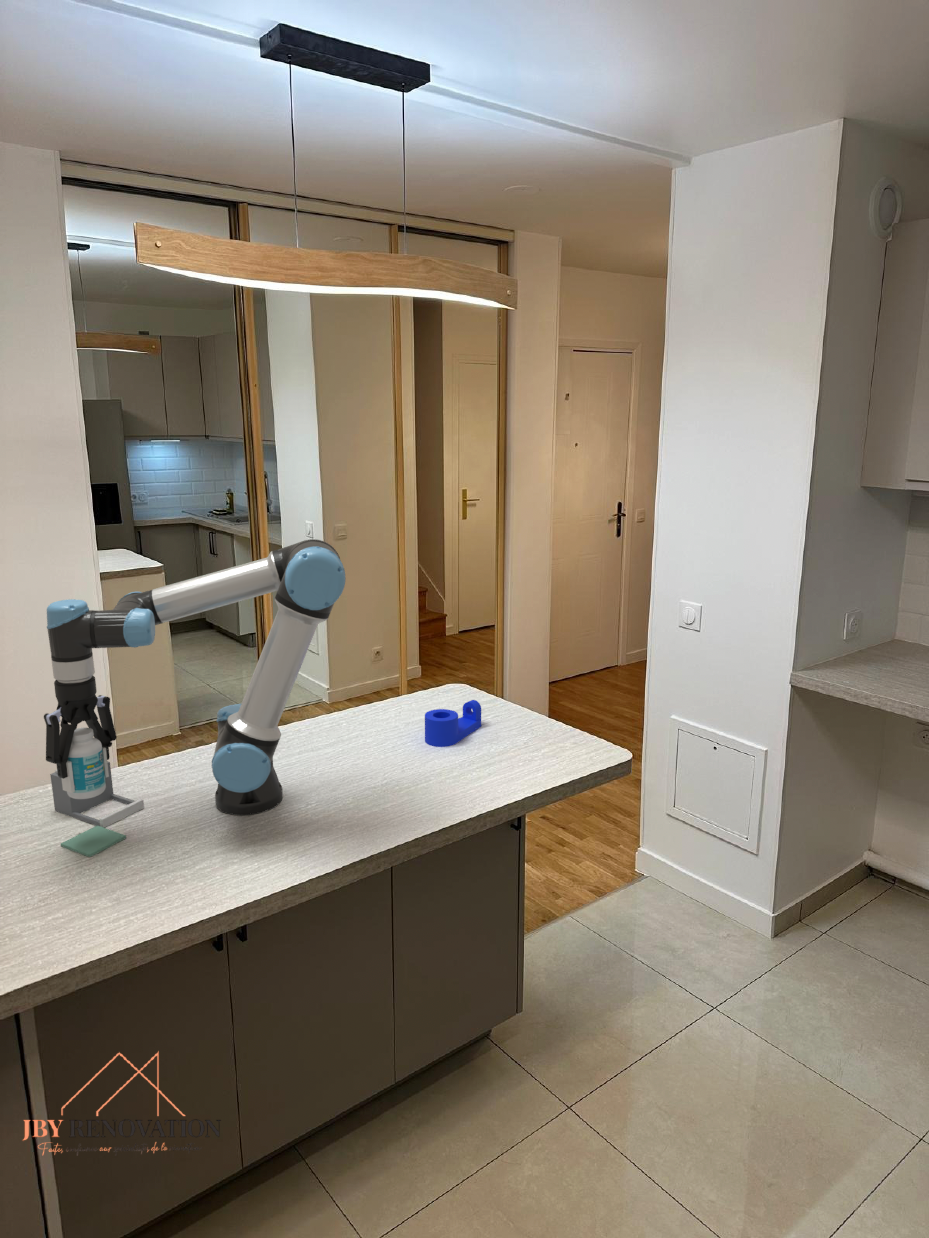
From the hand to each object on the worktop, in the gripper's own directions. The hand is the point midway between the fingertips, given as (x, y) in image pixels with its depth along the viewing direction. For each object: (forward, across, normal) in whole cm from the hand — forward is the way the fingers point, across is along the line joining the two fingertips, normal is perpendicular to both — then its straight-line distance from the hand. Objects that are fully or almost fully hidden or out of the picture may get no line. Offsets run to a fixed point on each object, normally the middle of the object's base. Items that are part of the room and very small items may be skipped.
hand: (86, 783), depth 176 cm
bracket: (+14, -89, +36) cm, 97 cm away
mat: (+13, 0, 0) cm, 13 cm away
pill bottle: (+2, 0, 0) cm, 2 cm away
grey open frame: (+13, -11, -11) cm, 21 cm away
